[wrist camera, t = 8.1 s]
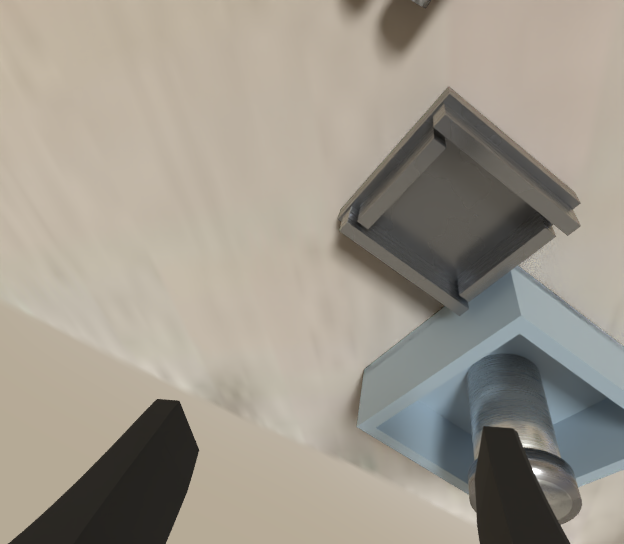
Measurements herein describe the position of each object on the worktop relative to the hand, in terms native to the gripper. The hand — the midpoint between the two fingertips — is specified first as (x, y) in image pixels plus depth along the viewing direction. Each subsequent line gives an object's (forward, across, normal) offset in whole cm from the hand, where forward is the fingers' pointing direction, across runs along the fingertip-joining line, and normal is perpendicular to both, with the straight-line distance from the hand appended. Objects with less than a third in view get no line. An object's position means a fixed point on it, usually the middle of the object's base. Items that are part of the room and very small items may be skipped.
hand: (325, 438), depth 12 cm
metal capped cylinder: (+10, -6, +8) cm, 14 cm away
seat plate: (+10, -3, -1) cm, 11 cm away
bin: (+10, -6, +8) cm, 14 cm away
